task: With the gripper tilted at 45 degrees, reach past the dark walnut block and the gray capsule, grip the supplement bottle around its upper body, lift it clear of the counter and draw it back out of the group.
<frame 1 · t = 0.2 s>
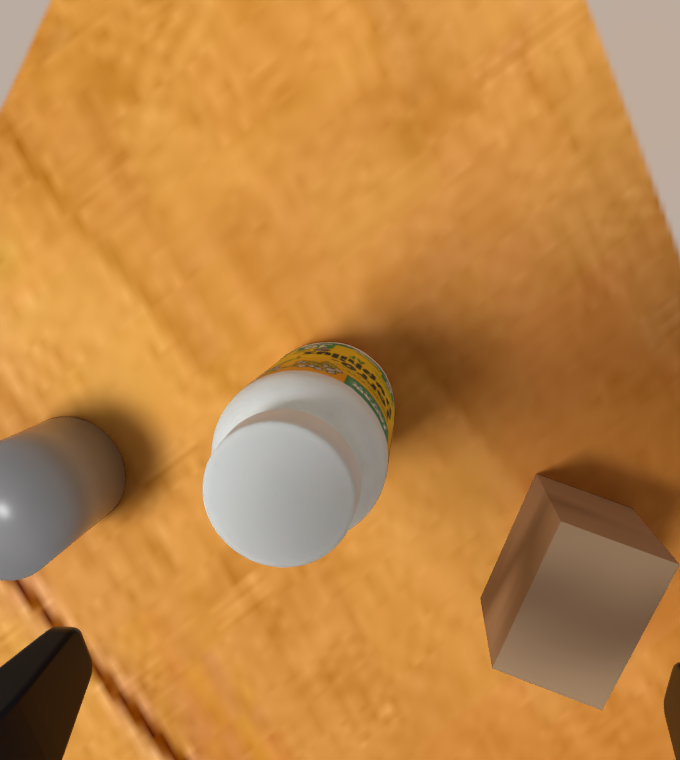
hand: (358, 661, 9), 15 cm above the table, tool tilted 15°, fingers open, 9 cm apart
walnut block: (553, 553, 24), on the table
gray capsule: (73, 470, 27), on the table
supplement bottle: (331, 403, 24), on the table
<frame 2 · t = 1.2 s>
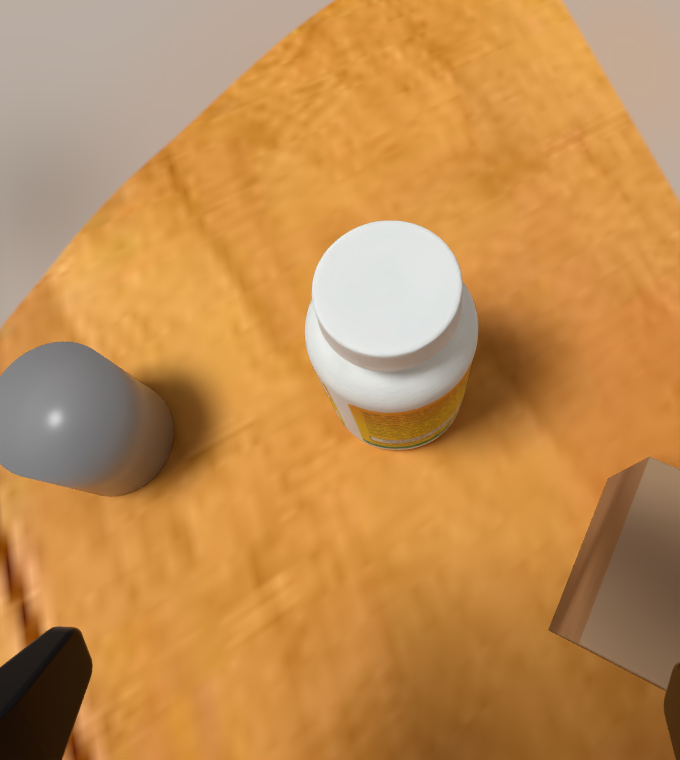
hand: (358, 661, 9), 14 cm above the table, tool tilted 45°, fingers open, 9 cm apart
walnut block: (632, 578, 21), on the table
gray capsule: (118, 438, 26), on the table
supplement bottle: (398, 391, 25), on the table
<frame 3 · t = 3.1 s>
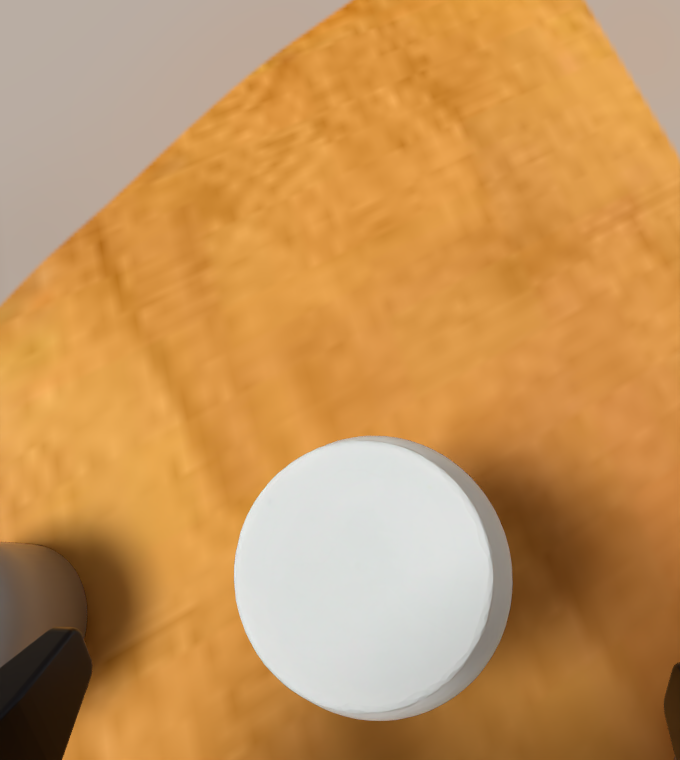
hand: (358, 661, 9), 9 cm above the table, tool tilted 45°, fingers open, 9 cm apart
gray capsule: (14, 624, 19), on the table
supplement bottle: (390, 570, 18), on the table
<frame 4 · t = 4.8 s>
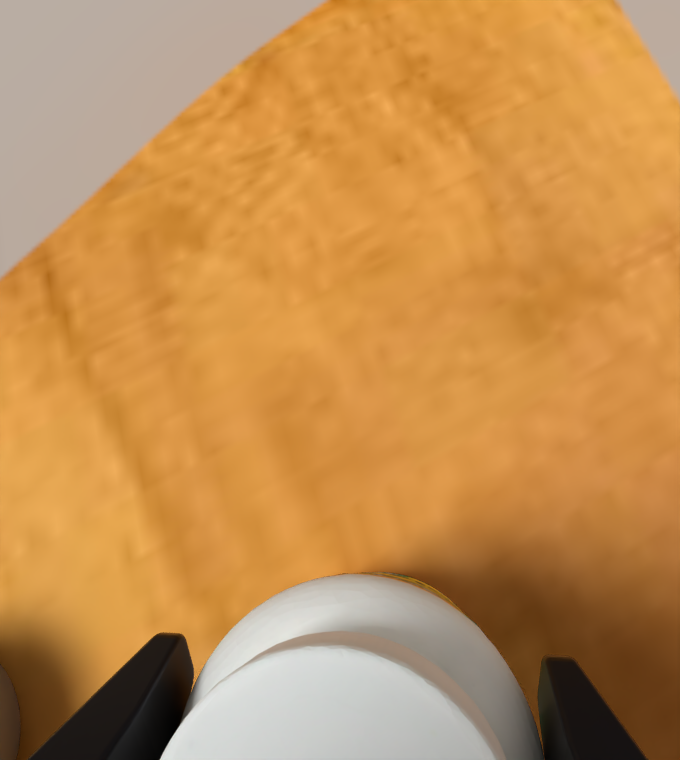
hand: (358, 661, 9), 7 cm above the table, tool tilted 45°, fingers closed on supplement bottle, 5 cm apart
supplement bottle: (383, 682, 15), on the table, touching gripper
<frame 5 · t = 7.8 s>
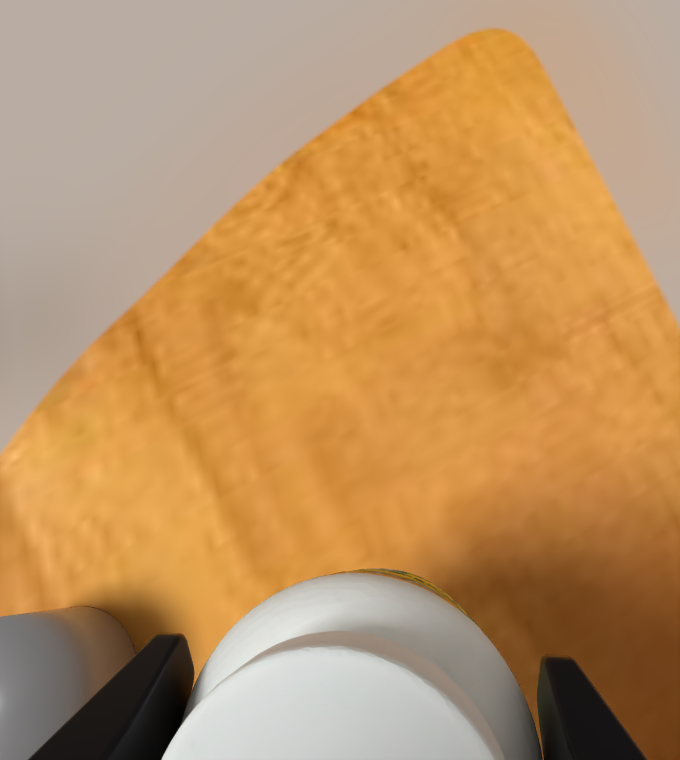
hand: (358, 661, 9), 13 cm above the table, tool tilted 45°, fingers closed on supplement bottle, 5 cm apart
gray capsule: (74, 677, 22), on the table
supplement bottle: (383, 677, 15), point 6 cm above the table, touching gripper
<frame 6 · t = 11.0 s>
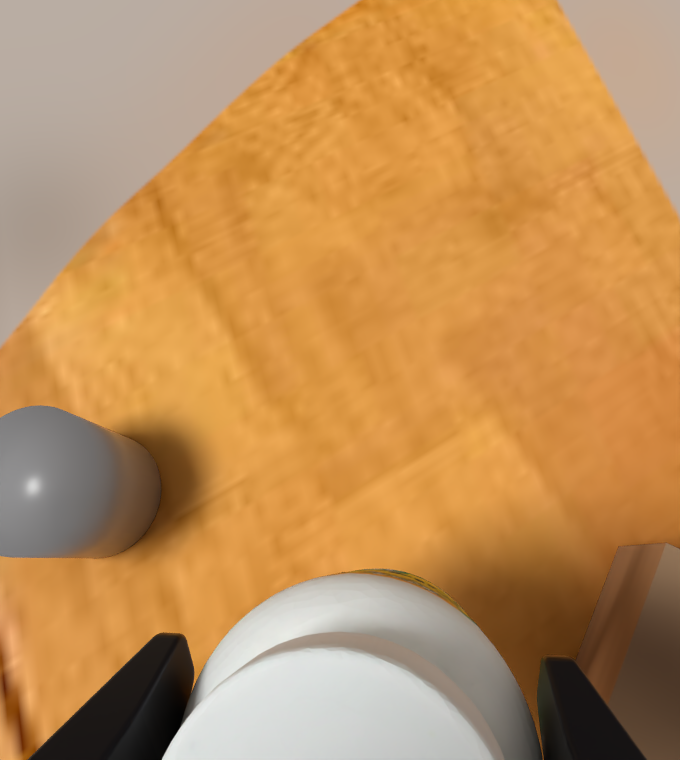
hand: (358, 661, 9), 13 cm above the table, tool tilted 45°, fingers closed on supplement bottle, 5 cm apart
walnut block: (645, 655, 20), on the table
gray capsule: (103, 494, 24), on the table
supplement bottle: (383, 677, 15), point 6 cm above the table, touching gripper
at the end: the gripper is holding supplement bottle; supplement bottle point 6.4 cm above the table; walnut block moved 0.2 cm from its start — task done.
